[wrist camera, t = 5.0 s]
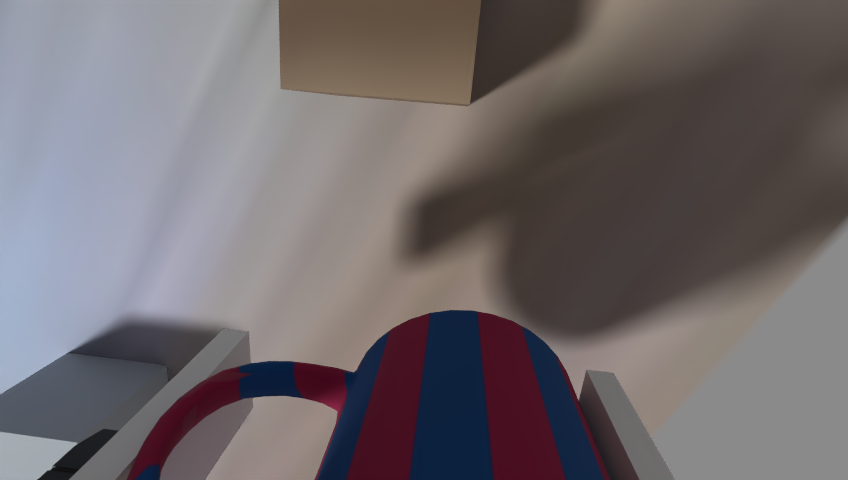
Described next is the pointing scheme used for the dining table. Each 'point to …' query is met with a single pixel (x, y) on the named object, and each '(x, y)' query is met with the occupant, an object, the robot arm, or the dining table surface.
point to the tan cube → (380, 48)
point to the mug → (420, 406)
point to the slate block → (69, 408)
